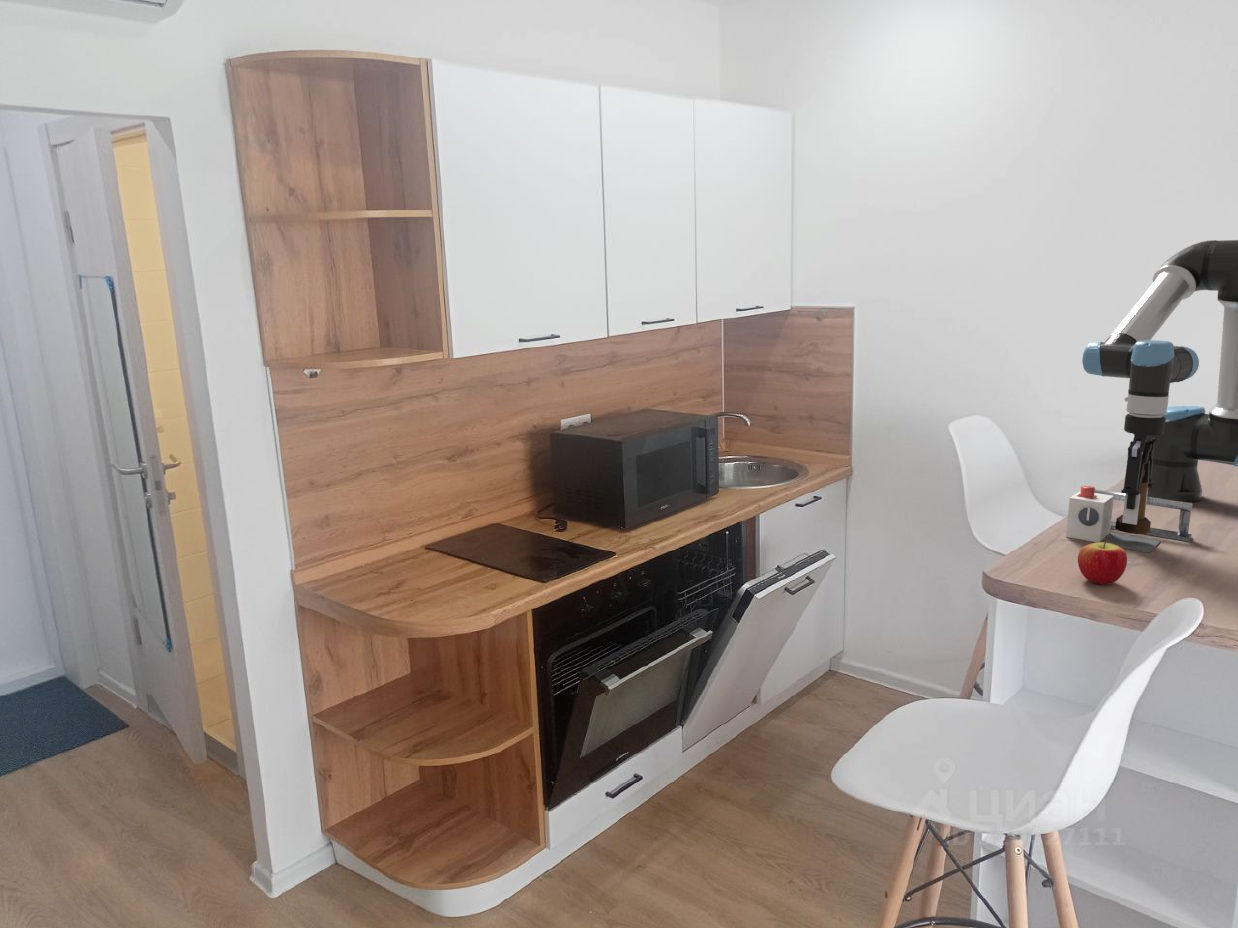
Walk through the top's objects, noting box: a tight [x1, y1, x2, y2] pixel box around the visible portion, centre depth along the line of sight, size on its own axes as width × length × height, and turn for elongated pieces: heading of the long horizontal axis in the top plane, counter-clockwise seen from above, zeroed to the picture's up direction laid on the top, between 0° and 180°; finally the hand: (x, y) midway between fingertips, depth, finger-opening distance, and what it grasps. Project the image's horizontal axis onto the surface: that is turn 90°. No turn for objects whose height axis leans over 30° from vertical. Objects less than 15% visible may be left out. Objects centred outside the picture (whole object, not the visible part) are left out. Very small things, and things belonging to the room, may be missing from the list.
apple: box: [1077, 535, 1128, 586], centre depth 182 cm, size 8×8×10 cm
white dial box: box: [1065, 490, 1115, 543], centre depth 212 cm, size 9×7×9 cm
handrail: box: [1095, 488, 1193, 542], centre depth 215 cm, size 4×21×8 cm, turn 49°
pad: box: [1100, 531, 1162, 554], centre depth 207 cm, size 10×10×1 cm
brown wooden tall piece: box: [1115, 457, 1152, 535], centre depth 205 cm, size 7×6×18 cm
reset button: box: [1079, 485, 1096, 499], centre depth 212 cm, size 3×3×4 cm
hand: (1133, 519), depth 206 cm, fingers closed on brown wooden tall piece, 6 cm apart
